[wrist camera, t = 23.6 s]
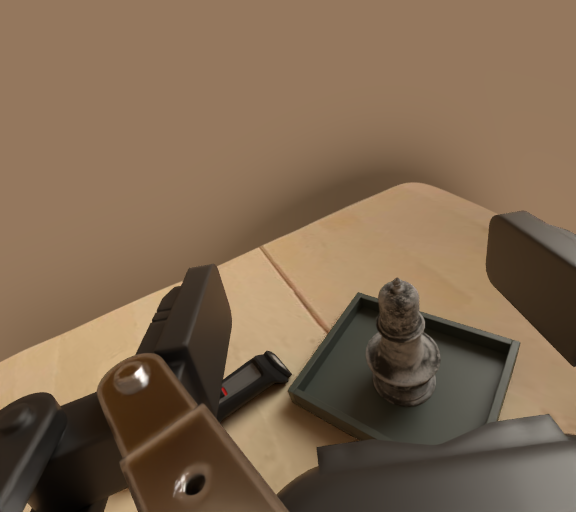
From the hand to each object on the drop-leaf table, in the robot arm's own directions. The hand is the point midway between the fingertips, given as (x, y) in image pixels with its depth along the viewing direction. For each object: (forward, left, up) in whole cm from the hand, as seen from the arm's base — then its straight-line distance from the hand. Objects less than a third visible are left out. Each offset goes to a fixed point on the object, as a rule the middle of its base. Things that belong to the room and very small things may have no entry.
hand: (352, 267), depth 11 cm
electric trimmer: (-16, -1, -23) cm, 28 cm away
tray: (-4, +10, -23) cm, 25 cm away
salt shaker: (-3, +10, -23) cm, 25 cm away
